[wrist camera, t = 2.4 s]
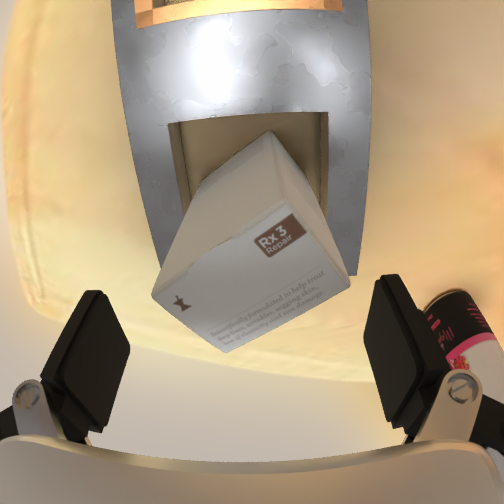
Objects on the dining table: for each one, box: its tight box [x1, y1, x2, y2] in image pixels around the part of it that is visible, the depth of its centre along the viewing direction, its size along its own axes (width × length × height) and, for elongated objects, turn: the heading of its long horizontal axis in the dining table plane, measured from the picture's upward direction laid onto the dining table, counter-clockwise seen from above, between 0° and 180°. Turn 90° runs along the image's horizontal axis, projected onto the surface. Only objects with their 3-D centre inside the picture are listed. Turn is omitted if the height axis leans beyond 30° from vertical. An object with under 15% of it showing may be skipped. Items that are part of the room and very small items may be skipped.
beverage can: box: [424, 291, 504, 404], centre depth 22 cm, size 6×7×15 cm
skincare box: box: [151, 130, 351, 353], centre depth 16 cm, size 6×4×12 cm
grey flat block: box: [111, 0, 371, 276], centre depth 15 cm, size 30×14×3 cm, turn 4°
